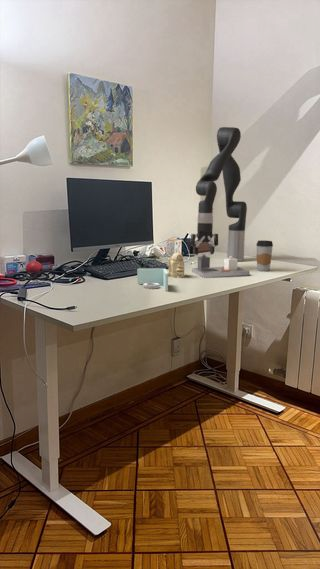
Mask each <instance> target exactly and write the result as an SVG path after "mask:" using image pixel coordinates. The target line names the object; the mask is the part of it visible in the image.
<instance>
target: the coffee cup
mask: <svg viewBox="0 0 320 569" xmlns="http://www.w3.org/2000/svg"><path fill="white" fill-rule="evenodd" d="M273 246H274V243H273V241H272V240H263V239H262V240H257V242H256V269H257V271H259V272H269V271H270V269H271V263H272V257H273V256H272V255H273V254H272V253H273Z"/></svg>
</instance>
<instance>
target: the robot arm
mask: <svg viewBox="0 0 320 569" xmlns="http://www.w3.org/2000/svg"><path fill="white" fill-rule="evenodd" d="M241 134H242V133H241V131H240V129H239V128H238V127H229V126H223V127H219V128H218V130H217V132H216V141H217V146H218V153H217V155H216V156H215V157H213V159H212V160H211V161H210V163H209V165H208V167H207V169H206V171H205V173H204V174H203V175H202V176H201V177H200V178H199V180H198V181H197V183H196V185H195V192H196V194H197V195H198V196H202V197H204V196H205V198H204V199H203V200H200V201H199V202H198V210H197V211H198V212H197V214H198V215H197V228H196V229H197V230H196V231H197V233H191V234H190V235H191V236H190V244H189V245H190V247H193V254H194V255H196V256H198V255H199V246H200V245H201V244H202V243H208V244H209V245H210V251H209V254H210V255H214V254H215V247H217V246H219V234H218V233H213V226H214V225H213V221H214V219H213V218H214V215H213V212H214V211H213V209H214V208H213V205H214V202H215V199H216V196H217V191H218V187H217V184H216V181H218V180H219V178H220V176H221V174H222V177H223V178H222V179H223V186H224V193H225V210H226V215H227V217H228V218H230V219H238V220H237V221H236V222H235V223H232V224H229V225H228V236H227V239H228V240H227V249H226V250H227V256H226V258H229V256H233V258H235V259H237V262H243V261H245V240H246V239H245V237H246V220H247V213H248V212H247V210H248V206H247V203H246V201H234V199H233V198H234V194H235V192H236V191H237V189H238V187H239V185H240V184H241V181H242V180H241V177H242V176H241V169H240V166H239V164H238V163H237V161H236V159H235V158H234V157H233V155H232V154H233V153H234V151H235V150H236V148H237V147H238V145H239V143H240V141H241V139H242V138H241V137H242V135H241ZM212 239H213V240H212Z"/></svg>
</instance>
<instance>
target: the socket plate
mask: <svg viewBox="0 0 320 569" xmlns="http://www.w3.org/2000/svg"><path fill="white" fill-rule="evenodd" d="M191 273H193V274H195V275H197V276H199V277H201V278H203V277H204V279H205V277H206V278H207V277H213V278H230V277H231V278H233V277H236V278H237V277H250V270H248V269H246V268H243V267H239V266H237V270H228V269H224V266H214V267H211V266H210V267H209V268H198V267H194V268H193V267H192V268H191ZM207 279H208V278H207Z"/></svg>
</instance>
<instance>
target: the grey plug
mask: <svg viewBox="0 0 320 569" xmlns="http://www.w3.org/2000/svg"><path fill="white" fill-rule="evenodd" d="M210 260H211V257H210V256H207V255H206V254H204V253H203V254H202V256H197V268H209V267H211V264H210V263H211V261H210Z"/></svg>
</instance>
